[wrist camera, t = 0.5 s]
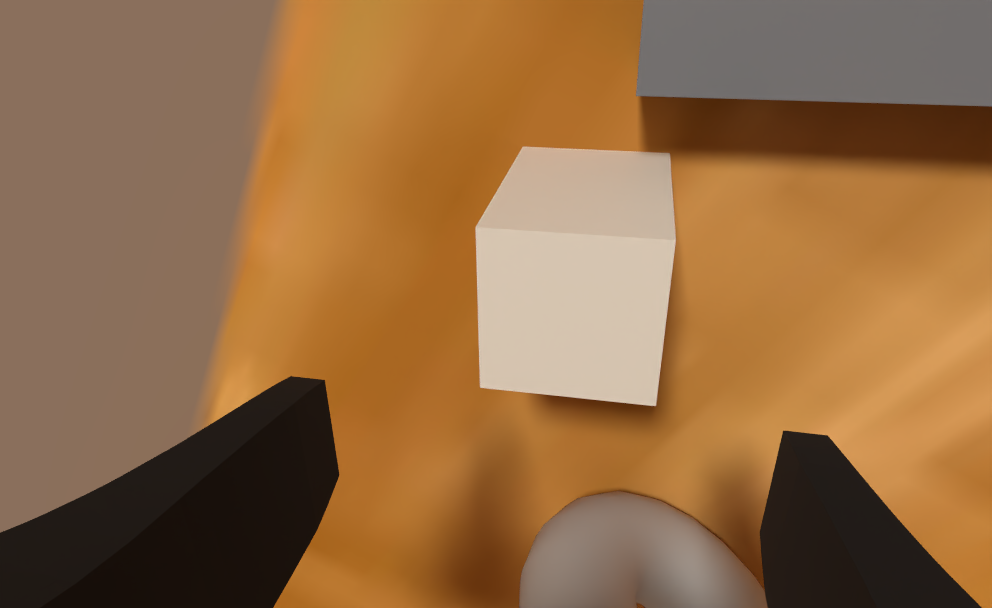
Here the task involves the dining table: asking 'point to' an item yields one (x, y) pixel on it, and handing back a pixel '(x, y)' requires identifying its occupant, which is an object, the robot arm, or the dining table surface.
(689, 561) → the donut
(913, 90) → the tile
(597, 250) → the block
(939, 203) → the dining table surface
